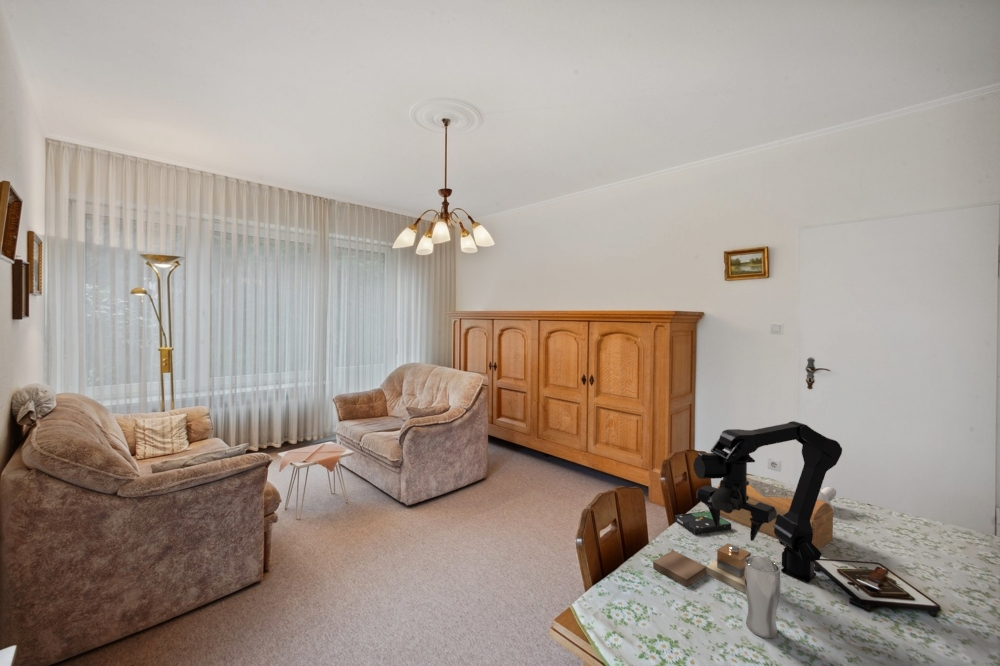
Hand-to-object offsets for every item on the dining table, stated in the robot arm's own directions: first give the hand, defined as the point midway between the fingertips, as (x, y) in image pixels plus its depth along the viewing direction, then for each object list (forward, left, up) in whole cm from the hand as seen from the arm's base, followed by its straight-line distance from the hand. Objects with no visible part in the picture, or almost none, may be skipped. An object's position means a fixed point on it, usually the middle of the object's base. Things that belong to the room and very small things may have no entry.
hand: (734, 533), depth 111 cm
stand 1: (+10, +10, -12) cm, 19 cm away
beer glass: (-13, +15, -12) cm, 23 cm away
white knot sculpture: (+2, -69, -12) cm, 70 cm away
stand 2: (0, 0, -12) cm, 12 cm away
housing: (0, 0, -10) cm, 10 cm away
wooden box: (+6, -40, -13) cm, 42 cm away
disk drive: (+20, -21, -13) cm, 32 cm away
